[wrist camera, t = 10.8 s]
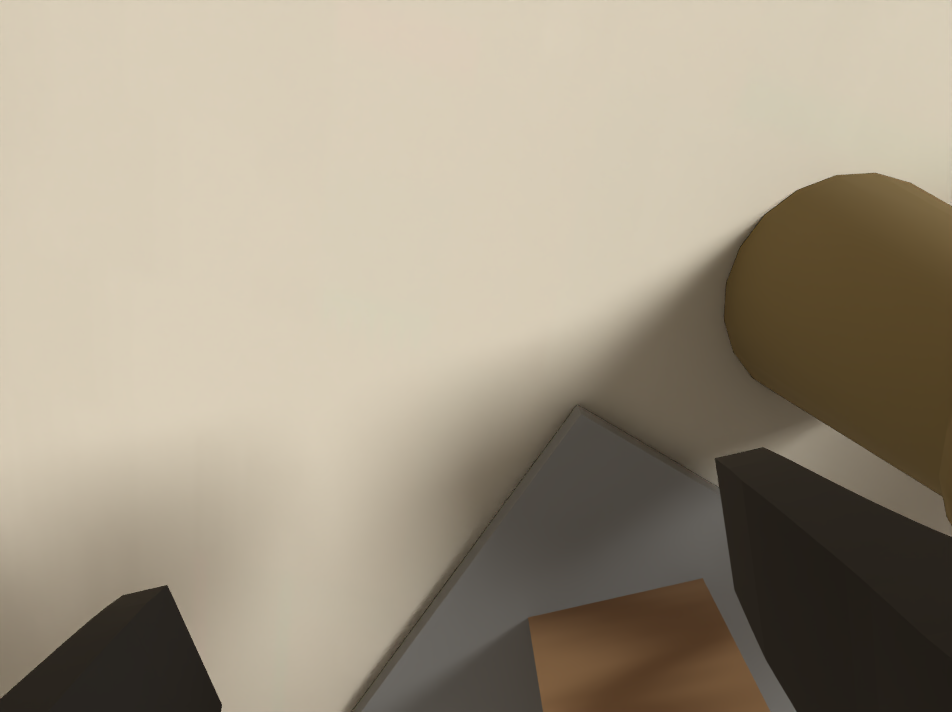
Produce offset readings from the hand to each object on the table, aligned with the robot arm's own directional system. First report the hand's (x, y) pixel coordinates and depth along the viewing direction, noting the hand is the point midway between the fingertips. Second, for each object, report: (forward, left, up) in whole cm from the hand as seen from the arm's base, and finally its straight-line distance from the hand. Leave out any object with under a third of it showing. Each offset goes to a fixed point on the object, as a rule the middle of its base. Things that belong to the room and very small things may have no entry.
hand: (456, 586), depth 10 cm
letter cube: (-10, +6, -10) cm, 15 cm away
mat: (-10, +6, -10) cm, 16 cm away
